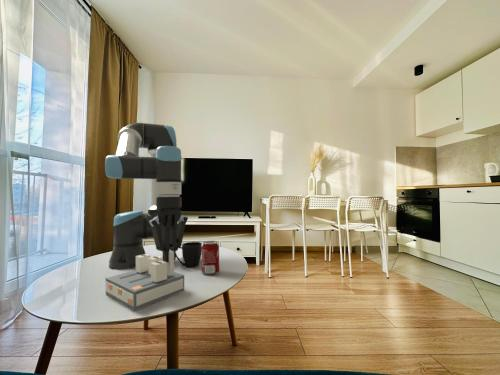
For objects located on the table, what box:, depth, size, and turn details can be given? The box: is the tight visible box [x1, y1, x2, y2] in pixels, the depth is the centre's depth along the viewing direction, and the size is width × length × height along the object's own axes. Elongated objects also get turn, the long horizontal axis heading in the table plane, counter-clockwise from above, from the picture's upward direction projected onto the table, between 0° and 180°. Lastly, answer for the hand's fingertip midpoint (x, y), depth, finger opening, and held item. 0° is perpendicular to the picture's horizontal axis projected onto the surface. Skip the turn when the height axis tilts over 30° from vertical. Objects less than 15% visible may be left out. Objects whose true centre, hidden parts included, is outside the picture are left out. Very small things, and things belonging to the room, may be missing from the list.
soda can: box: [201, 240, 220, 276], centre depth 94 cm, size 7×7×12 cm
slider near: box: [151, 261, 167, 282], centre depth 72 cm, size 3×4×5 cm
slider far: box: [135, 253, 151, 273], centre depth 80 cm, size 3×4×5 cm
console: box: [105, 269, 185, 311], centre depth 75 cm, size 18×16×5 cm
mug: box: [176, 241, 203, 269], centre depth 102 cm, size 8×12×10 cm
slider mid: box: [148, 255, 163, 275], centre depth 77 cm, size 3×4×5 cm
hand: (169, 271), depth 74 cm, fingers closed
